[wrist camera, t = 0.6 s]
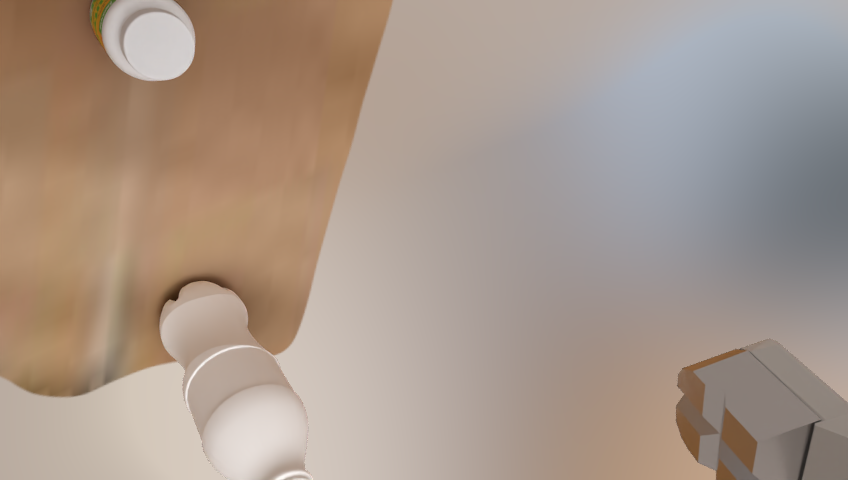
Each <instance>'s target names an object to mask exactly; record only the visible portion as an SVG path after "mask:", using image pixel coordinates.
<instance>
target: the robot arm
mask: <svg viewBox="0 0 848 480" xmlns="http://www.w3.org/2000/svg"><path fill="white" fill-rule="evenodd" d="M677 386H678V388H679V389H680V390H681V391H682V392H683V393H684V396H683V397H682V398H681V400H680V401H679V402H678V404H677V405H676V422H677V426H678V428H679V432H680V435H681V438H682V439H683V441H684V443H685V445H686V447H687V448H688V450H689V451H690V453H691V454H692V455H693V457H694V458H695V459H696V461H697V462H698V463H700V464H702V465H704V466H707V467H709V468H711V469H713V470H715V471H716V480H848V402H846V401H845V400H844V399H843V398H842V397H841V396H840V395H838V394H837V393H836V392H835V391H834V390H833V389H831V388H830V387H829V386H828V385H827V384H826V383H824V382H823V381H822V380H821V379H820V378H819V377H818V376H816V375H815V374H814V373H813V372H812V371H811V370H810V369H808V368H807V367H806V366H805V365H804V364H803V363H802V362H800V361H799V360H798V359H797V358H796V357H795V356H794V355H792V354H791V353H790V352H789V351H788V350H787V349H786V348H784V347H783V346H782V345H781V344H780V343H778V342H777V341H774V340H772V339H766V340H763V341H760V342H757V343H754V344H751V345H749V346H746V347H743V348H740V349H735V350H732V351H729V352H726V353H724V354H721V355H718V356H715V357H712V358H710V359H707V360H704V361H701V362H698V363H696V364H693V365H690V366H687V367H684V368H682V370H681V371H680V373H679V374H678V383H677Z"/></svg>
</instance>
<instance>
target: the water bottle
mask: <svg viewBox="0 0 848 480" xmlns="http://www.w3.org/2000/svg"><path fill="white" fill-rule="evenodd" d="M247 326H248V313H247V309H246V307H245V305H244V303H243V302H242V301H241V299H240V298H239V297H238V296H237V295H236V294H235V293H234V292H233V291H232V290H229V289H227V288H222V287H220V286H219V285H217V284H214V283H211V282H208V281H197V282H192V283H189V284H187V285H186V286H184V287H183V288H182V289H181V290H180V293H179V298H178V299H177V300H176V301H173V300H170V299H169V300H168V301H167V302H166V303H165V305H164V307H163V309H162V313H161V316H160V324H159V329H160V336H161V340H162V343H163V345H164V347H165V349H166V350H167V352H168V353H169V354H170V355H171V356H172V357H173V358H174V359H176V360H177V361H178V362H179V363H180V364H181V365H182V366H183V367H184V369H185V375H184V378H183V396H184V400H185V403H186V406H187V408H188V410H189V412H190V413H191V414H192V416H193V419H194V421H195V424H196V426H197V429H198V432H199V434H200V437H201V440H202V447H203V450H204V453H205V455H206V457H207V459H208V461H209V462H210V463H211V464H212V466H213V467H214V468H215V469H216V470H217V471H218V472H219V473H220V474H221V475H223V476H224V477H225V478H227V479H229V480H313V477H312V475H311V474H310V473H309V472H308V471H306V470H305V464H304V461H305V455H306V449H307V439H308V419H307V414H306V410H305V407H304V405H303V402H302V401H301V399H300V397H299V396H298V395H297V394H296V393H295V392H294V390H293V389H292V387H291V386H290V384H289V382H288V381H287V379H286V377H285V376H284V374H283V373H282V371H281V369H280V365H279V362H278V360H277V359H276V358H275V357H274V356H273V355H272V354H271V353H270V352H268V351H267V350H266V349H264V348H263V347H262V346H261V345H260V344H259V343H258V342H257V341H256V340H255V339H254V338H253V336H252V335H251V334H250V332H249V330H248V328H247Z"/></svg>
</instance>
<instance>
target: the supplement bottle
mask: <svg viewBox="0 0 848 480" xmlns="http://www.w3.org/2000/svg"><path fill="white" fill-rule="evenodd" d="M90 22H91V26H92V29H93V32H94V34H95V36H96V37H97V39H98V41H99V42H100V44H101V45H102V47H103V48H104V50H105V51H106V53H107V54H108V56H109V57H110V58H111V60H112V61H113V62H114V63H115V64H116V65H117V66H118V67H119V68H120V69H121V70H122V71H124V72H125V73H127V74H128V75H130V76H132V77H135V78H138V79H141V80H146V81H160V80H161V81H163V80H170V79H173V78H176V77H178V76H180V75H181V74H183V73H184V72H185V71H186V70H187V69H188V68H189V66H190V65H191V63H192V61H193V58H194V53H195V32H194V28H193V25H192V23H191V20H190V18H189V17H188V15H187V14H186V12H185V11H184V10H183V9H182V7H181V6H180V5H178V4H177V3H176V2H175V1H174V0H92V3H91V7H90Z"/></svg>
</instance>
